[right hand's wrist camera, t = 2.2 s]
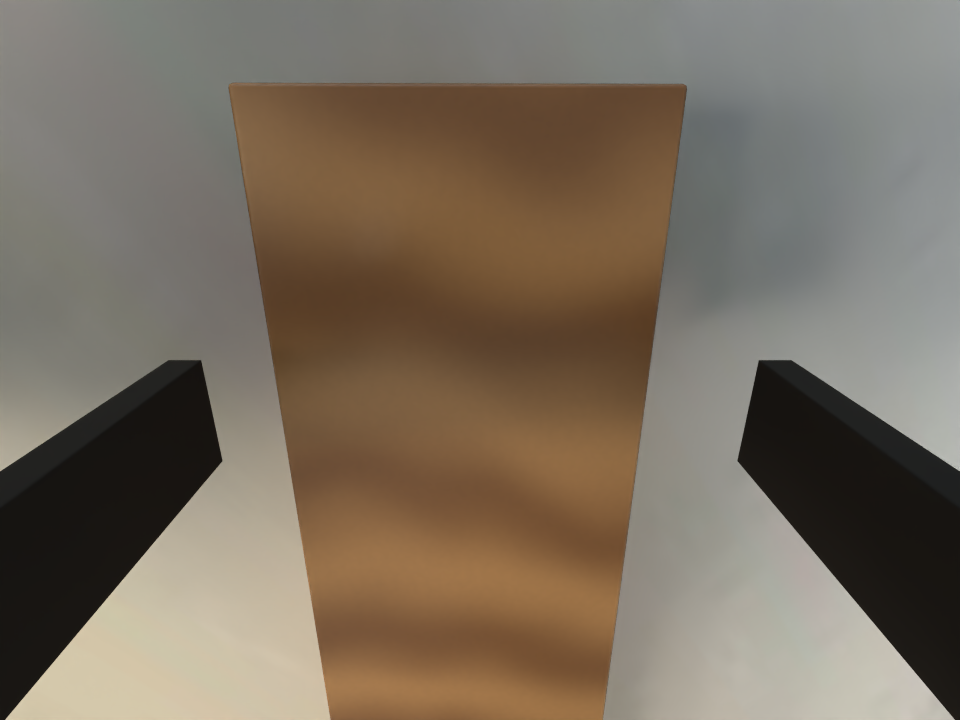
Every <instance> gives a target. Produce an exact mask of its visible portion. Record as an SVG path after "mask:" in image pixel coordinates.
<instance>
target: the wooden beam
mask: <svg viewBox="0 0 960 720" xmlns="http://www.w3.org/2000/svg"><path fill="white" fill-rule="evenodd" d="M686 92H687V87H686V85H684V84H510V83H231V84H229V93H230V100H231V106H232V112H233V118H234V124H235V131H236V137H237V143H238V149H239V155H240V161H241V168H242V174H243V180H244V186H245V192H246V199H247V205H248V211H249V217H250V223H251V229H252V236H253V242H254V248H255V254H256V260H257V267H258V273H259V279H260V285H261V291H262V297H263V304H264V310H265V316H266V322H267V328H268V335H269V341H270V347H271V353H272V359H273V366H274V372H275V378H276V384H277V390H278V396H279V403H280V409H281V415H282V421H283V427H284V434H285V440H286V446H287V452H288V458H289V464H290V471H291V477H292V483H293V489H294V495H295V502H296V508H297V514H298V520H299V526H300V532H301V539H302V545H303V551H304V557H305V563H306V570H307V576H308V582H309V588H310V594H311V601H312V607H313V613H314V619H315V625H316V631H317V638H318V644H319V650H320V656H321V662H322V669H323V675H324V681H325V687H326V693H327V699H328V706H329V712H330V718H331V720H603V714H604V706H605V699H606V691H607V684H608V676H609V669H610V661H611V654H612V646H613V639H614V631H615V624H616V616H617V609H618V601H619V594H620V586H621V579H622V571H623V564H624V556H625V549H626V542H627V534H628V527H629V519H630V512H631V504H632V497H633V489H634V482H635V474H636V467H637V459H638V452H639V444H640V437H641V429H642V422H643V414H644V407H645V399H646V392H647V384H648V377H649V369H650V362H651V354H652V347H653V339H654V332H655V324H656V317H657V309H658V302H659V294H660V287H661V279H662V272H663V264H664V257H665V249H666V242H667V234H668V227H669V220H670V212H671V205H672V197H673V190H674V182H675V175H676V167H677V160H678V152H679V145H680V137H681V130H682V122H683V115H684V107H685V100H686Z"/></svg>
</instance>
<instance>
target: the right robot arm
mask: <svg viewBox="0 0 960 720" xmlns="http://www.w3.org/2000/svg"><path fill="white" fill-rule="evenodd" d="M221 462H222V456H221V452H220V447H219V442H218V438H217V433H216V428H215V424H214V419H213V414H212V409H211V405H210V400H209V395H208V391H207V386H206V381H205V376H204V372H203V367H202V362H201V360H168V361H167V362H165V363H164V364H162V365H161V366H159V367H158V368H156V369H155V370H153V371H152V372H150V373H149V374H147V375H146V376H144V377H143V378H141V379H140V380H138V381H136V382H135V383H133V384H132V385H130V386H129V387H127V388H126V389H124V390H123V391H121V392H120V393H118V394H117V395H115V396H114V397H112V398H111V399H109V400H108V401H106V402H105V403H103V404H102V405H100V406H99V407H97V408H96V409H94V410H93V411H91V412H90V413H88V414H87V415H85V416H84V417H82V418H81V419H79V420H77V421H76V422H74V423H73V424H71V425H70V426H68V427H67V428H65V429H64V430H62V431H61V432H59V433H58V434H56V435H55V436H53V437H52V438H50V439H49V440H47V441H46V442H44V443H43V444H41V445H40V446H38V447H37V448H35V449H34V450H32V451H31V452H29V453H28V454H26V455H25V456H23V457H21V458H20V459H18V460H17V461H15V462H14V463H12V464H11V465H9V466H8V467H6V468H5V469H3V470H2V471H0V720H5V719H6V718H7V717H8V715H9V714H10V713H11V712H12V711H13V710H14V708H15V707H16V706H17V705H18V704H19V702H20V701H21V700H22V699H23V698H24V696H25V695H26V694H27V693H28V692H29V690H30V689H31V688H32V687H33V686H34V685H35V683H36V682H37V681H38V680H39V679H40V677H41V676H42V675H43V674H44V673H45V671H46V670H47V669H48V668H49V667H50V665H51V664H52V663H53V662H54V661H55V660H56V658H57V657H58V656H59V655H60V654H61V652H62V651H63V650H64V649H65V648H66V646H67V645H68V644H69V643H70V642H71V641H72V639H73V638H74V637H75V636H76V635H77V633H78V632H79V631H80V630H81V629H82V627H83V626H84V625H85V624H86V623H87V621H88V620H89V619H90V618H91V617H92V616H93V614H94V613H95V612H96V611H97V610H98V608H99V607H100V606H101V605H102V604H103V602H104V601H105V600H106V599H107V598H108V596H109V595H110V594H111V593H112V592H113V591H114V589H115V588H116V587H117V586H118V585H119V583H120V582H121V581H122V580H123V579H124V577H125V576H126V575H127V574H128V573H129V572H130V570H131V569H132V568H133V567H134V566H135V564H136V563H137V562H138V561H139V560H140V558H141V557H142V556H143V555H144V554H145V552H146V551H147V550H148V549H149V548H150V547H151V545H152V544H153V543H154V542H155V541H156V539H157V538H158V537H159V536H160V535H161V533H162V532H163V531H164V530H165V529H166V527H167V526H168V525H169V524H170V523H171V522H172V520H173V519H174V518H175V517H176V516H177V514H178V513H179V512H180V511H181V510H182V508H183V507H184V506H185V505H186V504H187V503H188V501H189V500H190V499H191V498H192V497H193V495H194V494H195V493H196V492H197V491H198V489H199V488H200V487H201V486H202V485H203V483H204V482H205V481H206V480H207V479H208V478H209V476H210V475H211V474H212V473H213V472H214V470H215V469H216V468H217V467H218V466H219V464H220V463H221ZM738 462H739V463H740V464H741V466H742V467H743V468H744V469H745V470H746V472H747V473H748V474H749V475H750V476H751V478H752V479H753V480H754V481H755V482H756V483H757V485H758V486H759V487H760V488H761V489H762V491H763V492H764V493H765V494H766V495H767V497H768V498H769V499H770V500H771V501H772V503H773V504H774V505H775V506H776V507H777V508H778V510H779V511H780V512H781V513H782V514H783V516H784V517H785V518H786V519H787V520H788V522H789V523H790V524H791V525H792V526H793V527H794V529H795V530H796V531H797V532H798V533H799V535H800V536H801V537H802V538H803V539H804V541H805V542H806V543H807V544H808V545H809V547H810V548H811V549H812V550H813V551H814V552H815V554H816V555H817V556H818V557H819V558H820V560H821V561H822V562H823V563H824V564H825V566H826V567H827V568H828V569H829V570H830V572H831V573H832V574H833V575H834V576H835V577H836V579H837V580H838V581H839V582H840V583H841V585H842V586H843V587H844V588H845V589H846V591H847V592H848V593H849V594H850V595H851V596H852V598H853V599H854V600H855V601H856V602H857V604H858V605H859V606H860V607H861V608H862V610H863V611H864V612H865V613H866V614H867V616H868V617H869V618H870V619H871V620H872V621H873V623H874V624H875V625H876V626H877V627H878V629H879V630H880V631H881V632H882V633H883V635H884V636H885V637H886V638H887V639H888V641H889V642H890V643H891V644H892V645H893V646H894V648H895V649H896V650H897V651H898V652H899V654H900V655H901V656H902V657H903V658H904V660H905V661H906V662H907V663H908V664H909V666H910V667H911V668H912V669H913V670H914V671H915V673H916V674H917V675H918V676H919V677H920V679H921V680H922V681H923V682H924V683H925V685H926V686H927V687H928V688H929V689H930V690H931V692H932V693H933V694H934V695H935V696H936V698H937V699H938V700H939V701H940V702H941V704H942V705H943V706H944V707H945V708H946V710H947V711H948V712H949V713H950V714H951V715H952V717H953V718H954V719H955V720H960V471H958V470H957V469H955V468H954V467H952V466H951V465H949V464H948V463H946V462H945V461H943V460H942V459H940V458H939V457H937V456H935V455H934V454H932V453H931V452H929V451H928V450H926V449H925V448H923V447H922V446H920V445H919V444H917V443H916V442H914V441H913V440H911V439H910V438H908V437H907V436H905V435H904V434H902V433H901V432H899V431H898V430H896V429H895V428H893V427H892V426H890V425H889V424H887V423H886V422H884V421H883V420H881V419H879V418H878V417H876V416H875V415H873V414H872V413H870V412H869V411H867V410H866V409H864V408H863V407H861V406H860V405H858V404H857V403H855V402H854V401H852V400H851V399H849V398H848V397H846V396H845V395H843V394H842V393H840V392H839V391H837V390H836V389H834V388H833V387H831V386H830V385H828V384H827V383H825V382H824V381H822V380H820V379H819V378H817V377H816V376H814V375H813V374H811V373H810V372H808V371H807V370H805V369H804V368H802V367H801V366H799V365H798V364H796V363H795V362H793V361H792V360H759V362H758V367H757V372H756V376H755V381H754V386H753V391H752V395H751V400H750V405H749V409H748V414H747V419H746V424H745V428H744V433H743V438H742V442H741V447H740V452H739V456H738Z"/></svg>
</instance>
